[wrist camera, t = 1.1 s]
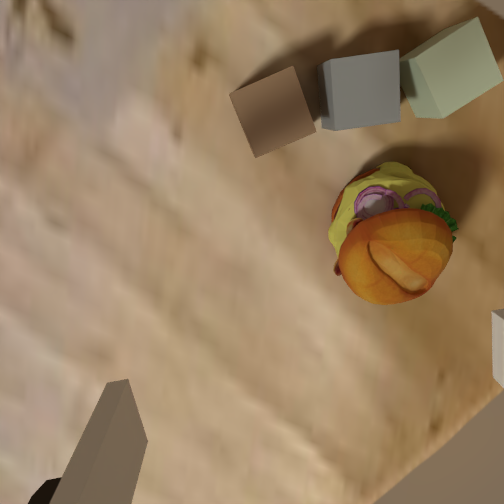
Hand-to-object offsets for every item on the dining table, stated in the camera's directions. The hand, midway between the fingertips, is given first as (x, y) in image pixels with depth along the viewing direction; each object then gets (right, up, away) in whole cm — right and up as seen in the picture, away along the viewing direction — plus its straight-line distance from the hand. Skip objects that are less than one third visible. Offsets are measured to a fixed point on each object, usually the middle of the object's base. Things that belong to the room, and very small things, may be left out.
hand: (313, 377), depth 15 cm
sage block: (+13, +20, +21) cm, 31 cm away
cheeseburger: (+10, +7, +25) cm, 28 cm away
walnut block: (-1, +16, +21) cm, 27 cm away
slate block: (+6, +18, +21) cm, 28 cm away
